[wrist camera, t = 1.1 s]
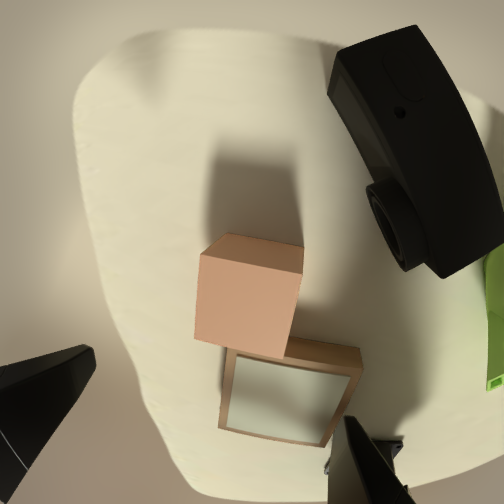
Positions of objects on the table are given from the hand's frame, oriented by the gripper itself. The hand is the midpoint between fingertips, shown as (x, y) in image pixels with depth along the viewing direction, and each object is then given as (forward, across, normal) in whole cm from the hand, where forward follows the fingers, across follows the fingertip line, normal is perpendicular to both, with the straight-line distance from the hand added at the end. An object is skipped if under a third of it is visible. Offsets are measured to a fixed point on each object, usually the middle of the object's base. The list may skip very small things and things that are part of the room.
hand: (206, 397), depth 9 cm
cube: (+11, 0, 0) cm, 11 cm away
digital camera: (+12, -6, -9) cm, 16 cm away
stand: (+11, -3, +8) cm, 15 cm away
